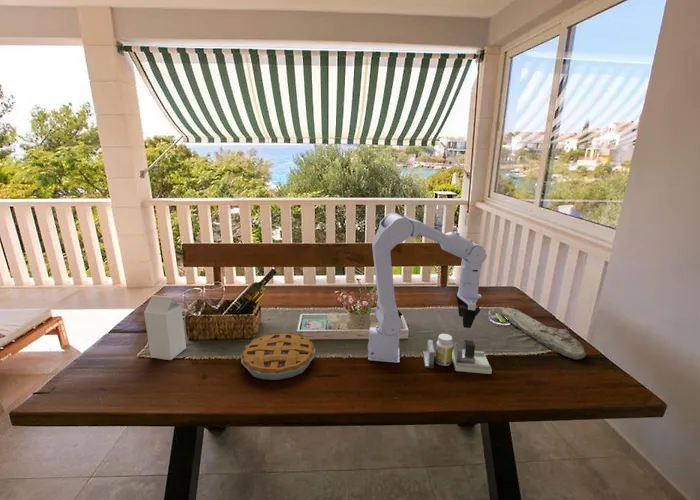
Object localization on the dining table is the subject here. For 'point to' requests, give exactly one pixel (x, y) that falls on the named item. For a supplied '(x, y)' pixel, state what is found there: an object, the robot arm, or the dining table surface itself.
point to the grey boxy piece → (465, 352)
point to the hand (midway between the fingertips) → (464, 321)
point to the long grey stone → (546, 334)
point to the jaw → (429, 355)
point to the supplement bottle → (444, 350)
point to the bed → (478, 367)
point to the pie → (278, 355)
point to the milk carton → (164, 327)
